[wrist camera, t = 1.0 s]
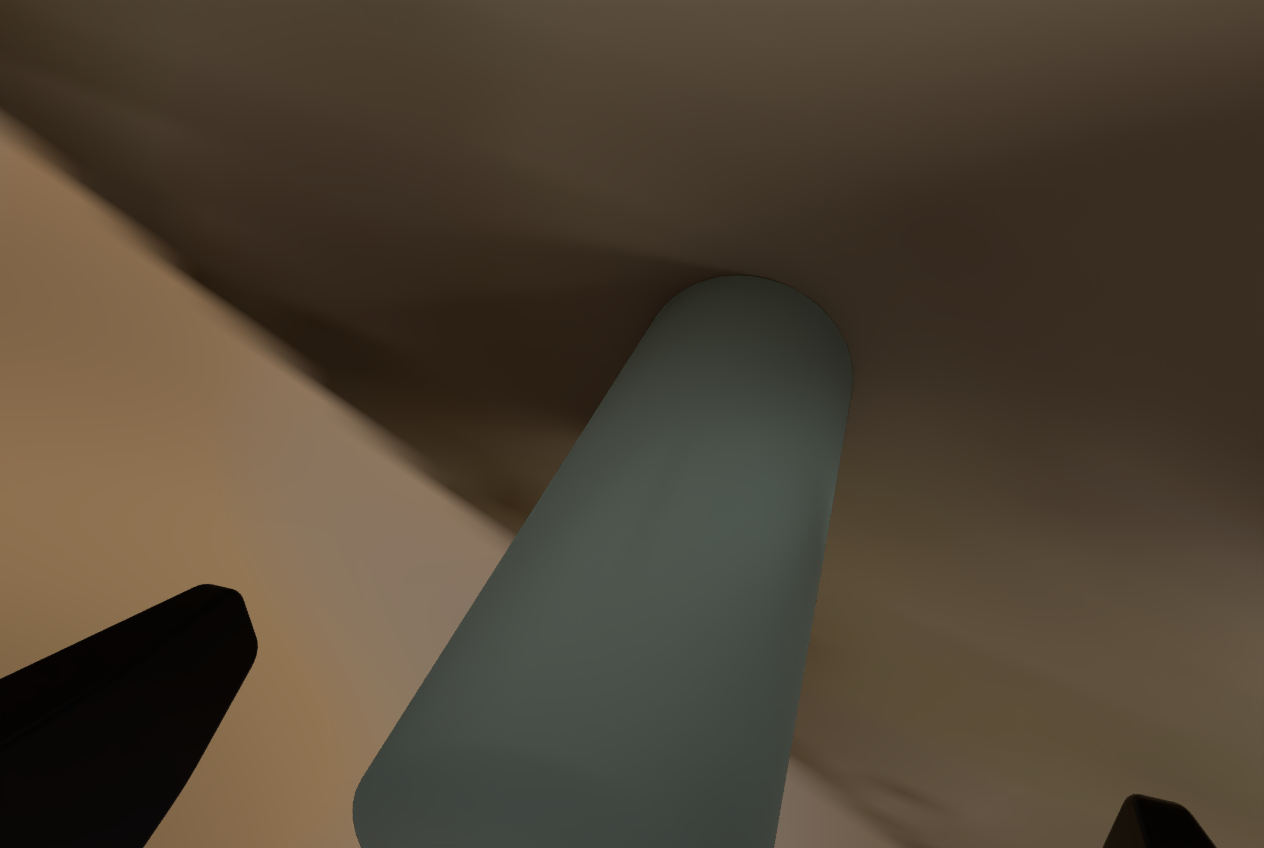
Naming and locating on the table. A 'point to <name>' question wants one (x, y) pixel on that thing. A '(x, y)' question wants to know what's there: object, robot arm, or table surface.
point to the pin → (643, 606)
